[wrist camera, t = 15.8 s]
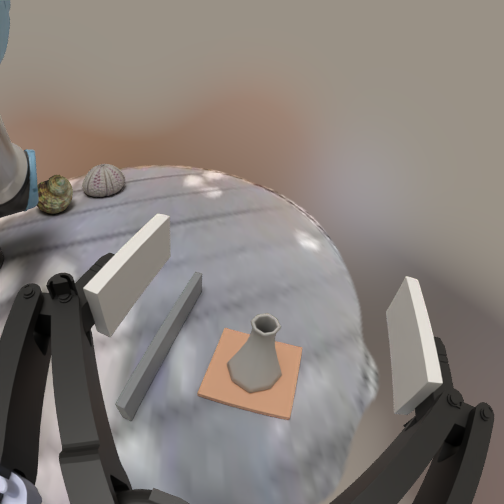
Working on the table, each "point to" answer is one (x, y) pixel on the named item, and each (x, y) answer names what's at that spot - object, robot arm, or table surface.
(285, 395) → the terracotta tile
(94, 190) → the sea urchin shell
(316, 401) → the table surface
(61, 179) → the seashell
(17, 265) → the table surface
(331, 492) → the table surface
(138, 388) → the low wall
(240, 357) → the flask
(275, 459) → the table surface
